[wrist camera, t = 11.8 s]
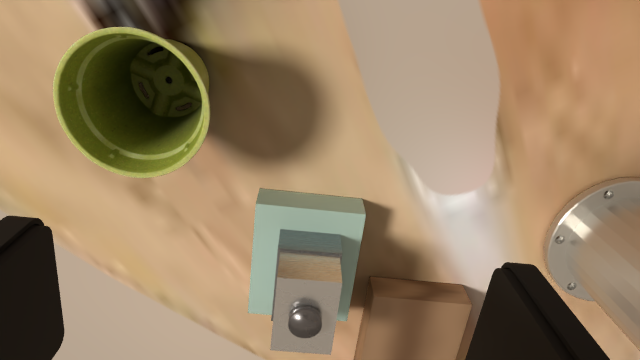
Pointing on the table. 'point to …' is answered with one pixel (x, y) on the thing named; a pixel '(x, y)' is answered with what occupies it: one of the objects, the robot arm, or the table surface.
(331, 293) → the block
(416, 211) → the table surface
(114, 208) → the table surface
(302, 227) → the stand teal
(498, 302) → the robot arm
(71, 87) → the plant pot
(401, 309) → the stand walnut
